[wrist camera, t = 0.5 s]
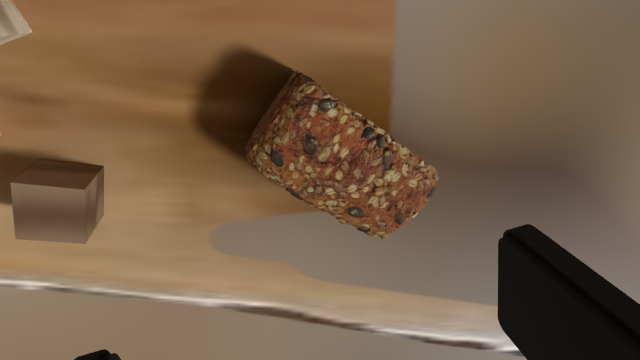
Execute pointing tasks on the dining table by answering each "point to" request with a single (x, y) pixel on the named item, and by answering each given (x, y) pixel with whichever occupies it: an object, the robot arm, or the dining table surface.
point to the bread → (338, 160)
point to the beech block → (11, 22)
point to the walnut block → (58, 201)
